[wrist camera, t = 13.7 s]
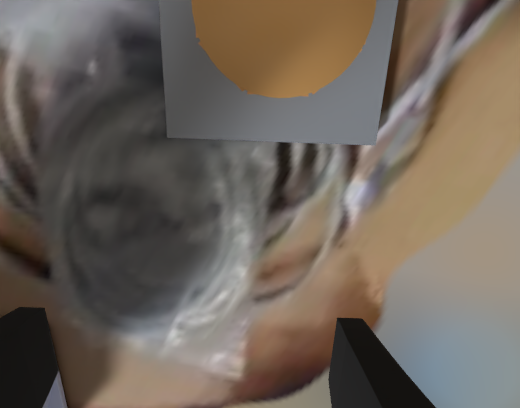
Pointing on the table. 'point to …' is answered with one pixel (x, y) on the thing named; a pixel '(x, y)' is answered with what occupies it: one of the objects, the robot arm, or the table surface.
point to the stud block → (268, 108)
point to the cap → (282, 41)
